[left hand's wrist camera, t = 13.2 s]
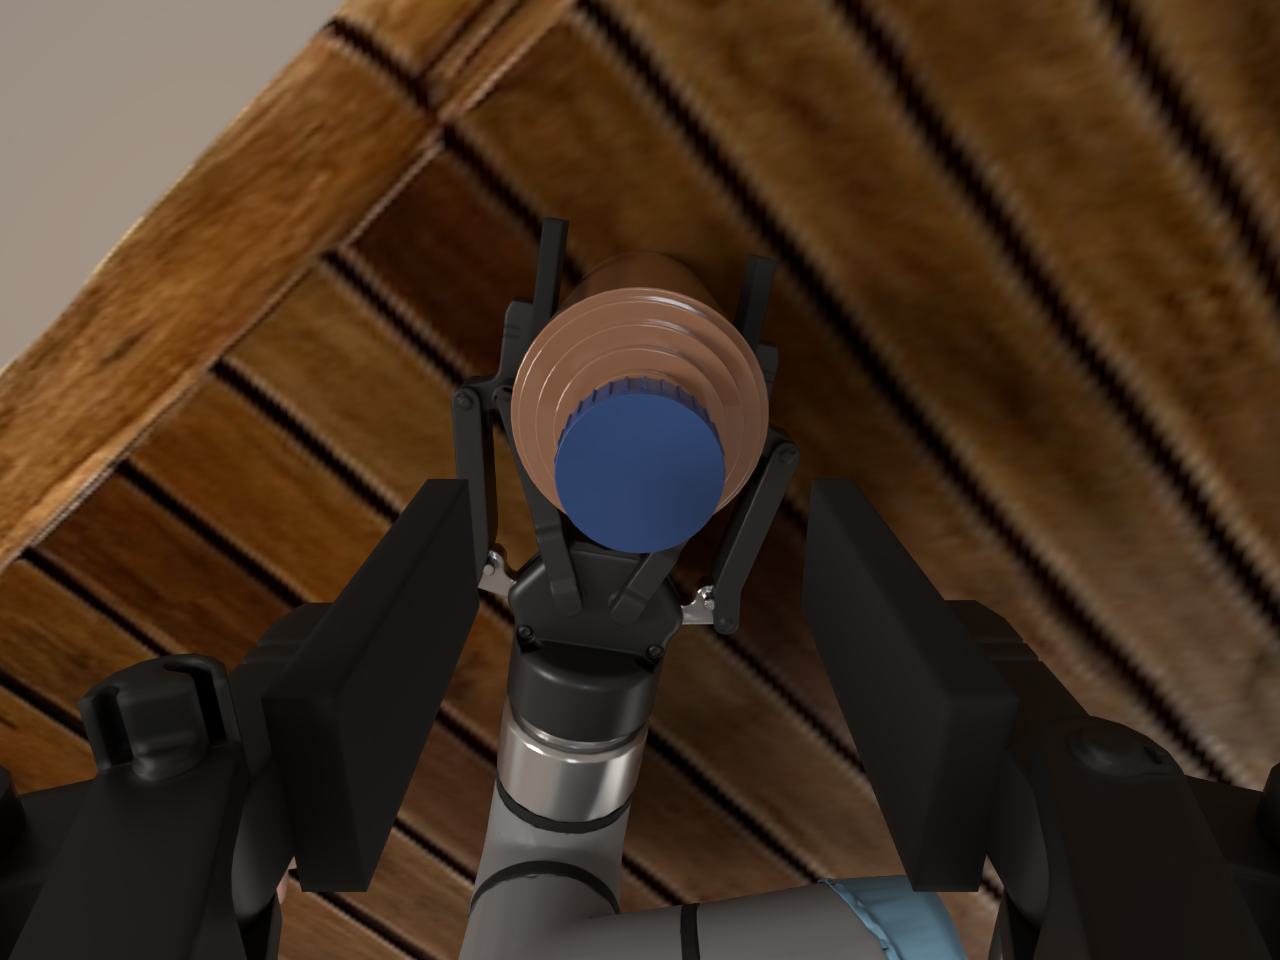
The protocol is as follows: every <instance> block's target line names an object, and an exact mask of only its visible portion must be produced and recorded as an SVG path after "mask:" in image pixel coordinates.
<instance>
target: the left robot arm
mask: <svg viewBox="0 0 1280 960" xmlns="http://www.w3.org/2000/svg"><path fill="white" fill-rule="evenodd" d="M478 609H479V596H478V585H477V573H476V562H475V550H474V539H473V527H472V515H471V504H470V492H469V481H468V479H428V480H427V481H426V482H425V484H424V485H423V486H422V487H421V489H420V490H419V491H418V493H417V494H416V495H415V497H414V498H413V499H412V501H411V502H410V503H409V504H408V506H407V507H406V508H405V510H404V511H403V512H402V514H401V515H400V516H399V518H398V519H397V520H396V521H395V523H394V524H393V525H392V527H391V528H390V529H389V531H388V532H387V533H386V535H385V536H384V537H383V539H382V540H381V541H380V542H379V544H378V545H377V546H376V548H375V549H374V550H373V552H372V553H371V554H370V556H369V557H368V558H367V559H366V561H365V562H364V563H363V565H362V566H361V567H360V569H359V570H358V571H357V573H356V574H355V575H354V576H353V578H352V579H351V580H350V582H349V583H348V584H347V586H346V587H345V588H344V590H343V591H342V592H341V593H340V595H339V596H338V597H337V599H336V600H335V601H334V603H304V604H302V605H301V606H299V607H298V608H296V609H294V610H293V611H291V612H289V613H288V614H286V615H285V616H283V617H281V618H280V619H278V620H276V621H275V622H274V624H273V625H272V626H271V627H270V628H269V629H268V631H267V632H266V633H265V634H264V635H263V636H262V637H261V639H260V640H259V641H258V645H257V646H254V647H253V648H252V649H251V650H250V651H249V652H248V654H247V655H246V656H245V657H244V658H243V659H242V664H238V665H237V666H236V667H235V669H234V670H233V671H232V672H231V673H230V674H229V675H228V677H227V672H226V668H225V665H224V664H223V663H221V662H220V661H219V660H217V659H216V658H215V657H212V656H206V655H201V654H195V653H192V654H178V655H168V656H164V657H159V658H155V659H151V660H147V661H143V662H140V663H138V664H135V665H133V666H130V667H128V668H126V669H123V670H121V671H118V672H116V673H114V674H112V675H111V676H109V677H108V678H106V679H104V680H103V681H101V682H100V683H98V684H97V685H95V686H94V687H92V688H91V689H90V690H89V691H88V692H87V693H86V694H85V696H84V697H83V698H82V699H81V700H80V701H79V702H78V703H77V704H78V707H79V711H80V714H81V717H82V720H83V723H84V726H85V729H86V732H87V736H88V739H89V742H90V745H91V748H92V751H93V754H94V758H95V761H96V764H97V767H98V772H97V775H96V777H95V778H94V779H91V780H87V781H83V782H78V783H73V784H69V785H64V786H59V787H54V788H50V789H45V790H40V791H36V792H31V793H26V794H21V795H18V793H17V790H16V787H15V785H14V782H13V779H12V777H11V774H10V771H8V770H7V769H5V768H4V767H3V766H1V765H0V960H277V958H278V950H279V942H280V934H281V925H282V916H281V908H280V902H279V898H278V894H277V887H278V885H279V883H280V881H281V880H282V878H283V876H284V874H285V872H286V870H287V868H288V866H289V864H290V863H291V861H292V859H293V857H295V862H296V867H297V871H298V876H299V881H300V885H301V890H302V892H367V889H368V886H369V884H370V881H371V879H372V876H373V874H374V871H375V869H376V866H377V864H378V861H379V859H380V856H381V854H382V851H383V849H384V846H385V844H386V841H387V839H388V836H389V834H390V831H391V828H392V826H393V823H394V821H395V818H396V816H397V813H398V811H399V808H400V806H401V803H402V801H403V798H404V796H405V793H406V791H407V788H408V786H409V783H410V781H411V778H412V775H413V773H414V770H415V768H416V765H417V763H418V760H419V758H420V755H421V753H422V750H423V748H424V745H425V743H426V740H427V738H428V735H429V733H430V730H431V728H432V725H433V722H434V720H435V717H436V715H437V712H438V710H439V707H440V705H441V702H442V700H443V697H444V695H445V692H446V690H447V687H448V685H449V682H450V680H451V677H452V675H453V672H454V670H455V667H456V664H457V662H458V659H459V657H460V654H461V652H462V649H463V647H464V644H465V642H466V639H467V637H468V634H469V632H470V629H471V627H472V624H473V622H474V619H475V617H476V614H477V611H478ZM801 609H802V611H803V614H804V617H805V619H806V622H807V624H808V627H809V629H810V632H811V634H812V637H813V639H814V642H815V644H816V647H817V649H818V652H819V654H820V657H821V659H822V662H823V664H824V667H825V670H826V672H827V675H828V677H829V680H830V682H831V685H832V687H833V690H834V692H835V695H836V697H837V700H838V702H839V705H840V707H841V710H842V712H843V715H844V717H845V720H846V722H847V725H848V728H849V730H850V733H851V735H852V738H853V740H854V743H855V745H856V748H857V750H858V753H859V755H860V758H861V760H862V763H863V765H864V768H865V770H866V773H867V775H868V778H869V781H870V783H871V786H872V788H873V791H874V793H875V796H876V798H877V801H878V803H879V806H880V808H881V811H882V813H883V816H884V818H885V821H886V823H887V826H888V828H889V831H890V834H891V836H892V839H893V841H894V844H895V846H896V849H897V851H898V854H899V856H900V859H901V861H902V864H903V866H904V869H905V871H906V874H907V876H908V879H909V881H910V884H911V886H912V889H913V892H978V890H979V885H980V881H981V876H982V871H983V867H984V862H985V857H986V853H987V855H988V857H989V859H990V861H991V862H992V864H993V866H994V868H995V870H996V872H997V874H998V876H999V878H1000V879H1001V881H1002V883H1003V885H1004V889H1003V894H1002V898H1001V902H1000V907H999V911H998V915H997V920H996V924H995V928H994V933H993V937H992V941H991V946H990V950H989V956H988V960H1000V958H1001V954H1002V956H1003V960H1280V763H1278V764H1277V765H1275V766H1274V767H1272V768H1271V771H1270V774H1269V777H1268V779H1267V782H1266V785H1265V787H1264V790H1263V792H1261V791H1256V790H1251V789H1246V788H1242V787H1237V786H1232V785H1227V784H1223V783H1218V782H1213V781H1208V780H1204V779H1199V778H1195V777H1191V776H1187V775H1184V773H1183V771H1182V769H1181V768H1180V766H1179V765H1178V764H1177V763H1176V761H1175V760H1174V759H1173V757H1172V756H1171V755H1170V753H1169V752H1168V751H1166V750H1165V749H1164V748H1162V747H1161V746H1160V745H1158V744H1157V743H1156V742H1154V741H1153V740H1151V739H1150V738H1149V737H1147V736H1145V735H1143V734H1141V733H1139V732H1137V731H1135V730H1133V729H1131V728H1129V727H1127V726H1125V725H1123V724H1120V723H1116V722H1113V721H1109V720H1106V719H1102V718H1098V717H1095V716H1090V715H1089V714H1088V713H1087V712H1086V711H1085V710H1084V709H1083V707H1082V706H1081V705H1080V704H1079V703H1078V702H1077V701H1076V699H1075V698H1074V697H1073V696H1072V695H1071V694H1070V693H1069V691H1068V690H1067V689H1066V688H1065V687H1064V686H1063V685H1062V683H1061V682H1060V681H1059V680H1058V679H1057V678H1056V677H1055V675H1054V674H1053V673H1052V672H1051V671H1050V670H1049V669H1048V667H1047V666H1046V665H1045V664H1044V663H1043V662H1042V661H1038V656H1037V655H1036V654H1035V653H1034V651H1033V650H1032V649H1031V648H1030V647H1029V646H1028V645H1027V643H1023V639H1022V638H1021V637H1020V635H1019V634H1018V633H1017V632H1016V631H1015V630H1014V629H1013V627H1012V626H1011V625H1010V624H1009V623H1008V622H1007V621H1006V619H1005V618H1003V617H1002V616H1000V615H998V614H997V613H995V612H993V611H992V610H990V609H988V608H987V607H985V606H984V605H982V604H980V603H979V602H977V601H975V600H944V599H943V597H942V596H941V595H940V593H939V592H938V591H937V590H936V588H935V587H934V586H933V584H932V583H931V582H930V580H929V579H928V578H927V576H926V575H925V574H924V573H923V571H922V570H921V569H920V567H919V566H918V565H917V563H916V562H915V561H914V559H913V558H912V557H911V556H910V554H909V553H908V552H907V550H906V549H905V548H904V546H903V545H902V544H901V542H900V541H899V540H898V539H897V537H896V536H895V535H894V533H893V532H892V531H891V529H890V528H889V527H888V525H887V524H886V523H885V521H884V520H883V519H882V518H881V516H880V515H879V514H878V512H877V511H876V510H875V508H874V507H873V506H872V504H871V503H870V502H869V501H868V499H867V498H866V497H865V495H864V494H863V493H862V491H861V490H860V489H859V487H858V486H857V485H856V484H855V482H854V481H853V480H852V479H812V481H811V492H810V504H809V515H808V527H807V539H806V550H805V562H804V573H803V585H802V596H801Z"/></svg>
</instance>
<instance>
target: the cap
mask: <svg viewBox="0 0 1280 960" xmlns="http://www.w3.org/2000/svg"><path fill="white" fill-rule="evenodd" d="M557 446H559V447H558V450H557V453H556V456H555V459H554V463H555V475H554V476H555V477H554V479H555V485H556V490H557V494H558V497H559V500H560V502H561V505H562V507H563V509H564V510H565V512H566V514H567V516H568V517H569V518H570V520H571V521H572V522H573V524H574V525H575V526H576V527H577V528H578V529H579V530H580V531H581V532H583V533H584V534H585V535H587V536H588V537H589V538H591V539H592V540H594V541H596V542H597V543H599V544H601V545H604V546H606V547H608V548H611V549H615V550H618V551H623V552H628V553H651V552H657V551H662V550H665V549H668V548H671V547H674V546H676V545H678V544H681V543H682V542H684V541H686V540H687V539H689V538H690V537H692V536H693V535H694V534H696V533H697V532H698V531H699V530H700V529H701V528H702V527H703V526H704V525H705V524H706V523H707V522H708V520H709V519H710V518H711V516H712V515H713V513H714V512H715V510H716V508H717V506H718V504H719V501H720V499H721V496H722V492H723V488H724V482H725V473H726V469H725V464H724V458H723V456H725V453H724V450H723V447H722V444H721V441H720V436H719V433H718V430H717V428H716V425H715V422H713V423H712V422H711V420H710V417H709V414H708V411H707V409H706V407H705V408H703V407H702V406H701V405H700V404H699V403H698V401H697V400H696V397H695V396H694V395H693V396H691V395H690V394H688V393H687V392H685V391H684V390H682V388H681V386H680V385H678V386H675V385H673V384H671V383H668V382H665V379H661V380H657V379H652V378H647V376H643V378H641V377H639V378H629V376H628V377H625V379H622V380H618V381H615V382H611V381H609V382H608V384H607V385H605V386H603V387H601V388H599V389H597V390H595V389H593V390H592V393H591V394H590V395H589V396H588V397H586V398H585V399H584V400H583V401H582V400H580V401H579V403H578V406H577V408H576V409H575V411H574V412H573V414H571V413H570V414H569V416H568V419H567V422H566V425H565V428H564V429H562V432H561V435H560V438H559V441H558V444H557Z"/></svg>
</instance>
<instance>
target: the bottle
mask: <svg viewBox="0 0 1280 960" xmlns="http://www.w3.org/2000/svg"><path fill="white" fill-rule="evenodd" d="M628 376H629V378H639V377H641V378H643V376H647V378H652V379H657V380H661V379H665V382H668V383H671V384H673V385H675V386H678V385H680V386H681V388H682V390H684V391H685V392H687V393H688V394H690V395H691V396H693V395H694V396H695V397H696V400H697V401H698V403H699V404H700V405H701V406H702V407H703V408H705V407H706V409H707V411H708V414H709V417H710V420H711V422H712V423H713V422H715V425H716V428H717V430H718V433H719V436H720V441H721V444H722V447H723V450H724V453H725V456H723V458H724V464H725V469H726V473H725V482H724V488H723V492H722V496H721V499H720V501H719V504H718V506H717V508H716V510H715V512H714V513H713V514H715V513H716V512H717V511H719V510H720V509H721V508H723V507H724V506H725V505H726V504H727V503H728V502H729V501H730V500H732V499H733V498H734V497H735V496H736V495H737V494H738V492H739V491H740V490H741V489H742V487H743V486H744V485H745V483H746V482H747V481H748V479H749V478H750V476H751V474H752V472H753V471H754V469H755V467H756V465H757V463H758V461H759V458H760V456H761V454H762V451H763V447H764V444H765V440H766V436H767V430H768V422H769V401H768V394H767V387H766V383H765V380H764V376H763V373H762V370H761V368H760V365H759V363H758V361H757V358H756V356H755V354H754V353H753V351H752V349H751V348H750V346H749V344H748V343H747V341H746V340H745V339H744V337H743V336H742V335H741V333H740V332H739V331H738V329H737V328H736V327H735V325H734V324H733V323H732V321H731V320H730V319H729V318H728V316H727V315H726V314H725V312H724V311H723V310H722V308H721V307H720V306H719V304H718V303H717V302H716V300H715V299H714V298H713V297H712V295H711V294H710V293H709V291H708V290H707V289H706V287H705V286H704V285H703V283H702V282H701V281H700V280H699V278H698V277H697V276H696V275H695V274H694V273H693V272H692V271H691V270H690V269H689V268H687V267H686V266H685V265H683V264H682V263H680V262H679V261H677V260H675V259H673V258H671V257H668V256H666V255H663V254H660V253H655V252H649V251H630V252H625V253H620V254H617V255H614V256H611V257H609V258H607V259H605V260H603V261H601V262H600V263H598V264H597V265H595V266H594V267H592V268H591V269H590V270H589V271H588V272H587V273H586V274H585V275H584V276H583V277H582V278H581V280H580V281H579V282H578V283H577V285H576V286H575V287H574V289H573V290H572V291H571V292H570V294H569V295H568V296H567V298H566V299H565V300H564V302H563V303H562V304H561V306H560V307H559V308H558V309H557V311H556V312H555V313H554V315H553V316H552V317H551V319H550V320H549V321H548V322H547V324H546V325H545V326H544V328H543V329H542V330H541V332H540V333H539V334H538V336H537V337H536V338H535V339H534V341H533V343H532V344H531V346H530V347H529V349H528V351H527V352H526V354H525V356H524V358H523V360H522V362H521V365H520V367H519V369H518V372H517V375H516V379H515V382H514V386H513V392H512V399H511V424H512V432H513V437H514V441H515V445H516V448H517V452H518V454H519V456H520V459H521V461H522V464H523V466H524V468H525V469H526V471H527V473H528V475H529V476H530V478H531V480H532V481H533V482H534V484H535V485H536V486H537V488H538V489H539V490H540V492H541V493H542V494H543V495H544V496H545V497H546V498H547V499H548V500H549V501H550V502H551V503H552V504H553V505H555V506H556V507H557V508H559V509H560V510H561V511H562V512H564V513H565V514H566V512H565V510H564V509H563V507H562V505H561V502H560V500H559V497H558V494H557V490H556V485H555V479H554V477H555V476H554V475H555V463H554V459H555V456H556V453H557V450H558V447H559V446H557V444H558V441H559V438H560V435H561V432H562V429H564V428H565V425H566V422H567V419H568V416H569V414H570V413H571V414H573V412H574V411H575V409H576V408H577V406H578V403H579V401H580V400H582V401H583V400H584V399H585V398H586V397H588V396H589V395H590V394H591V393H592V390H593V389H595V390H597V389H599V388H601V387H603V386H605V385H607V384H608V382H609V381H611V382H615V381H618V380H622V379H625V377H628Z"/></svg>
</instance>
